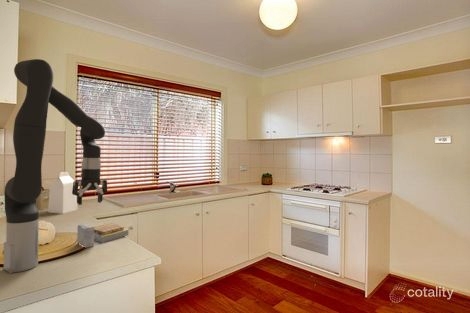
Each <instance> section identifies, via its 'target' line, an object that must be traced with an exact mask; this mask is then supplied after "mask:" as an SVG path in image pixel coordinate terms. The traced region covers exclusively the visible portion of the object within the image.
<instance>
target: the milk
mask: <svg viewBox="0 0 470 313" xmlns="http://www.w3.org/2000/svg"><path fill="white" fill-rule="evenodd" d="M74 181H75V180H74V179H73V178H72V177H71V176H70V174H69V171H62V172H59V173H58V175H57V177H55V178H54V180H52V181H51V182H50V185H49V194H48V195H49V196H48V208H47V210H48V211H47V212H48V213H53V214H60V215H61V214H62V215H63V214H66V213H70V212H74V211H78V203H77V196H76V195H73V194H72V190H73V182H74Z"/></svg>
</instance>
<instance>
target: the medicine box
mask: <svg viewBox="0 0 470 313" xmlns="http://www.w3.org/2000/svg"><path fill="white" fill-rule="evenodd" d="M94 227H95V226H93V225H91V224H89V223H83V224H82V223H81V224H79V225H77V236H76V237H77V239H76V240H77V242H78V243H80V244H81V245H83V246H86V247H85V248H84V249H86V248H87V249H88V248H91V247H95V240H94ZM78 243H77V244H78Z"/></svg>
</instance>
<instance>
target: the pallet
mask: <svg viewBox="0 0 470 313" xmlns="http://www.w3.org/2000/svg"><path fill="white" fill-rule="evenodd" d="M93 227H94V232H95V231H96V233H97V234H99V233H101V235H102V236H104V235H107V234H111V233H115V232H119V231H122V230H124V229H125V226H122V225H119V224H116V223H112V222H108V223H104V224H101V225H97V226H93Z"/></svg>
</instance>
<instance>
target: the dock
mask: <svg viewBox="0 0 470 313" xmlns="http://www.w3.org/2000/svg"><path fill="white" fill-rule="evenodd" d="M129 231H130V230H129V229H126V228H124V230H122V231H119V232H115V233H111V234H107V235H104V236H102V235H101V233H99V234H97V233H96V231H95V232H94V241H97V242H100V243H105V242H110V241H113V240H116V239H120V238H123V237H126V236H129Z"/></svg>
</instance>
